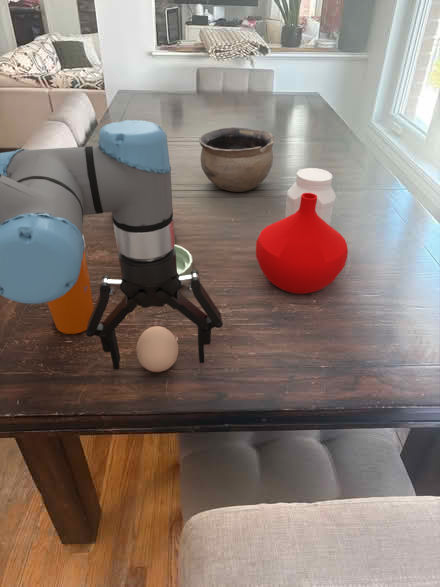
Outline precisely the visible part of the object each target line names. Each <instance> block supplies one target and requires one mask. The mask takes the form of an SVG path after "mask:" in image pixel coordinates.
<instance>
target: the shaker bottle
mask: <svg viewBox="0 0 440 587" xmlns="http://www.w3.org/2000/svg"><path fill="white" fill-rule="evenodd" d="M83 240H84V243H85V244H84V246H85V248H86V246H87V245H86V242H85V236H84V235H83ZM86 256H87V255H86V249H85V250H84V252H83V258H82V262H81V268H80V273H79V276H78V279H77V282H76V284H75V285H73V287H72V288H71V289H70V290H69V291H68V292H67V293H66V294H64V295H63V296H61V297H60V298H57V299H55V300H53V301H50V302H46V304H47V306H48V309H49V312H50V314H51V317H52V320H53V323H54V325H55V328H56V329H57V331H59V332H60V333H62V334H65V335H75V334H79V333H83V332H86V330H87V326H88V321H89V319H90V317H91V314H92V312H93V309H94V307H95V305H94V301H93V294H92V288H91V287H92V286H91V280H90V275H89V268H88V262H87V257H86Z"/></svg>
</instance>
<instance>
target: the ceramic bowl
mask: <svg viewBox="0 0 440 587" xmlns="http://www.w3.org/2000/svg"><path fill="white" fill-rule="evenodd" d="M274 139H275V136H274V135H273V134H272V133H270V132H268V131H265V130H258V129H253V128H247V127H235V126H234V127H232V126H231V127H223V128H219V129H214V130H211V131H208V132H205V133H204V134H202V135H201V136H200V137H199V138H198V140H199V141H198V142H199V144H200V146H201V152H200V158H199V159H200V166H201V169H202V171H203V173H204V175H206V178H208V180H209V181H210V182H211V183H213V184H214V185H215V186H216V187H217V188H219V189H221V190H225V191H228V192H233V193H235V192H237V193H243V192H248V191H251V190H253V189H255V188H257V187H258V186H259V185H260V184H262V183H263V181H265V179H266V178H267V177H268V176H269V174H270V172H271V169H272V167H273V164H274V153H273V146H274V142H275V141H274Z"/></svg>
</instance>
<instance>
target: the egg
mask: <svg viewBox="0 0 440 587" xmlns="http://www.w3.org/2000/svg"><path fill="white" fill-rule="evenodd" d="M136 342H137V343H136V348H135V349H136V350H135V351H136V357H137V360H138V362H139V364H140V365H141V366H142V367H143V368H144V369H146V370H147V371H150V372H153V373H161V372H165V371H167V370H169V369H170V368H171V367H172V366H173V365H174V364H175V363H176V361H177V359H178V355H179V344H178V341H177V338H176V336H175V335H174V334H173V333H172V332H171V331H170V330H169V329H167V327H164V326H160V325H155V326H150V327H148V328H146V330H144V331H143V332H142V334H141V335H140V336H139V337H138V340H137V341H136Z"/></svg>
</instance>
